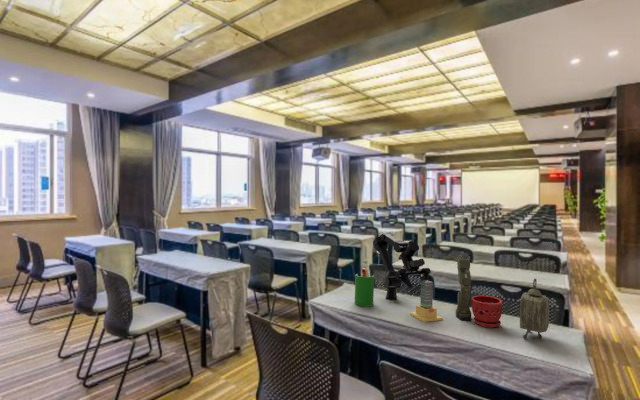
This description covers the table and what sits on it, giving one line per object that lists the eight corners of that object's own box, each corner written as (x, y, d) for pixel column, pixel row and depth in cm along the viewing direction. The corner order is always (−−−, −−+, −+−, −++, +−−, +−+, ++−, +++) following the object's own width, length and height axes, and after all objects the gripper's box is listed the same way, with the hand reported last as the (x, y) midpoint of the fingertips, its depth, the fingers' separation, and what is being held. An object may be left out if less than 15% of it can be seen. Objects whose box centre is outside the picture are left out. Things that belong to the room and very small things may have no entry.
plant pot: (477, 317, 169) (477, 293, 169) (505, 324, 160) (506, 299, 160) (466, 323, 160) (466, 298, 160) (496, 331, 151) (496, 304, 151)
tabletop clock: (525, 329, 155) (526, 274, 155) (548, 334, 149) (550, 277, 149) (519, 339, 143) (520, 279, 143) (544, 345, 138) (546, 283, 138)
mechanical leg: (475, 322, 160) (473, 257, 167) (459, 320, 161) (457, 257, 168) (468, 319, 173) (467, 259, 180) (453, 318, 174) (452, 259, 181)
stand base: (410, 314, 171) (410, 304, 171) (428, 312, 175) (428, 302, 175) (423, 322, 161) (423, 311, 161) (442, 319, 164) (442, 309, 164)
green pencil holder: (372, 302, 190) (373, 266, 190) (373, 307, 182) (374, 269, 182) (354, 301, 191) (355, 265, 191) (354, 306, 183) (355, 268, 183)
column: (420, 304, 169) (420, 280, 169) (427, 304, 170) (427, 280, 170) (425, 307, 165) (425, 282, 165) (432, 306, 167) (433, 282, 167)
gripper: (399, 253, 175) (410, 280, 165) (429, 252, 181) (442, 278, 171) (390, 265, 183) (401, 291, 173) (420, 264, 189) (432, 289, 179)
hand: (419, 287), depth 174 cm, fingers open, 9 cm apart
